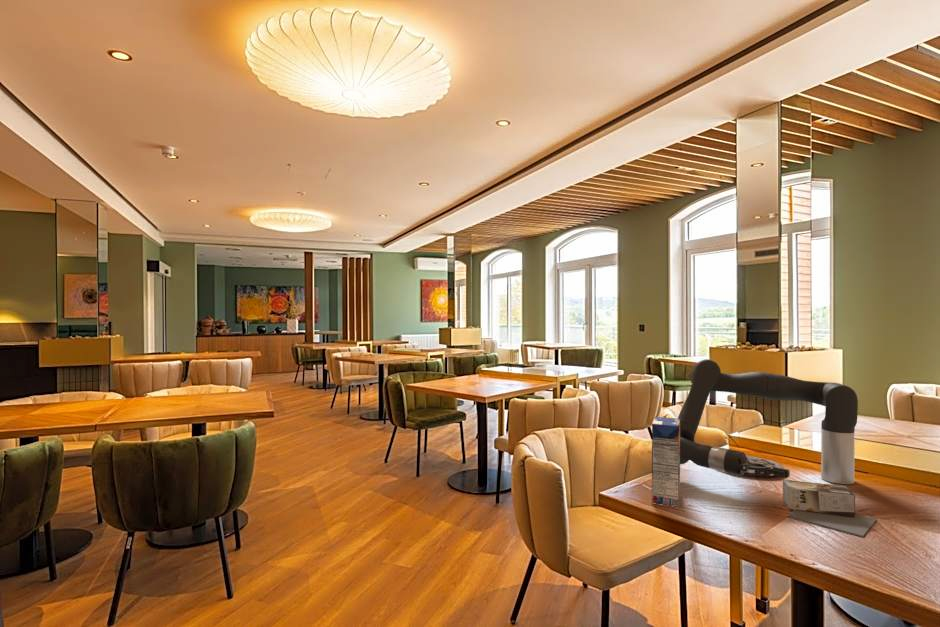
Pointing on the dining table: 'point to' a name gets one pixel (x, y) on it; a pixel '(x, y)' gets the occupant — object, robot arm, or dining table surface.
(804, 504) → the coffee box
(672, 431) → the juice carton
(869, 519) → the rubber mat
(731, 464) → the robot arm
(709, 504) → the dining table surface
